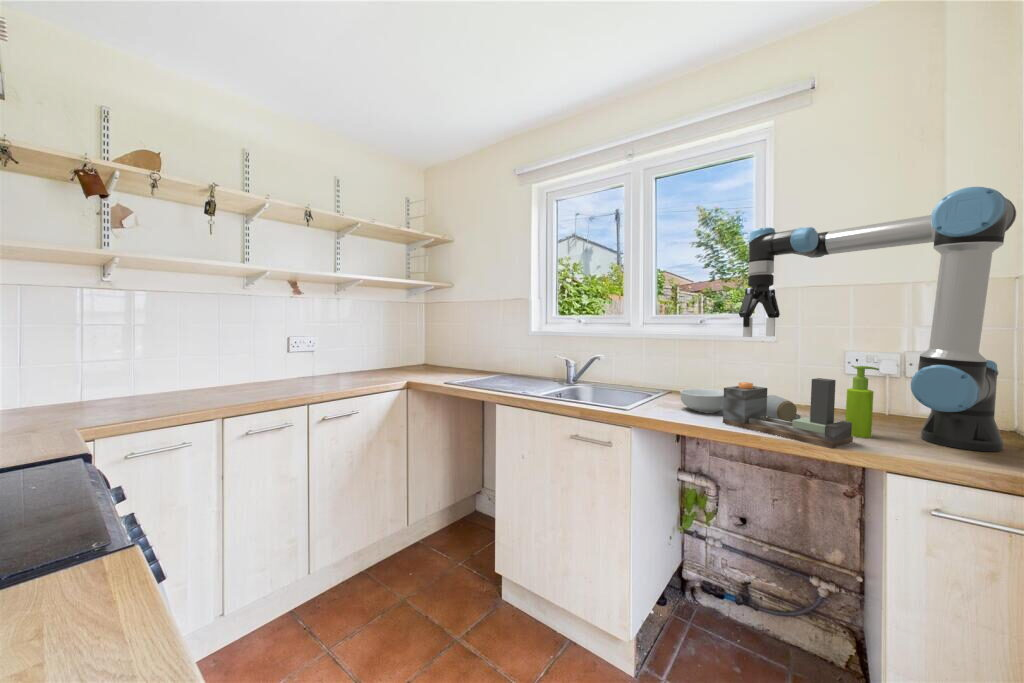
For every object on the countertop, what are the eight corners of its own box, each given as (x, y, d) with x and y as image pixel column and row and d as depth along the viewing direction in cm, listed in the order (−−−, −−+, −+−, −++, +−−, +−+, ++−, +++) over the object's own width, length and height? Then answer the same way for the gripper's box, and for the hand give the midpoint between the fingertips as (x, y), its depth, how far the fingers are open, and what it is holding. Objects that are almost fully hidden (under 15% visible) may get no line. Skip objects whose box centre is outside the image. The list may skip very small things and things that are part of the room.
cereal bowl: (696, 404, 165) (697, 386, 164) (739, 412, 151) (740, 392, 151) (670, 409, 155) (670, 390, 155) (713, 418, 141) (714, 397, 141)
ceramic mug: (777, 422, 136) (779, 399, 135) (759, 416, 144) (761, 394, 143) (807, 422, 137) (808, 399, 136) (788, 416, 145) (789, 394, 145)
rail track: (852, 441, 114) (854, 400, 114) (831, 448, 108) (833, 404, 108) (744, 419, 140) (745, 385, 140) (722, 423, 134) (723, 387, 134)
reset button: (755, 392, 133) (755, 383, 133) (748, 394, 131) (748, 384, 131) (743, 391, 136) (743, 381, 136) (735, 392, 134) (736, 382, 134)
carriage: (838, 430, 115) (841, 379, 115) (824, 434, 111) (827, 381, 111) (806, 423, 122) (808, 376, 121) (792, 427, 118) (794, 377, 117)
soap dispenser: (879, 439, 117) (883, 368, 116) (849, 436, 119) (853, 366, 118) (870, 433, 123) (873, 365, 122) (841, 431, 125) (844, 364, 124)
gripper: (770, 277, 153) (768, 335, 154) (728, 273, 141) (726, 336, 142) (792, 275, 146) (790, 336, 147) (750, 271, 134) (748, 337, 135)
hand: (759, 336), depth 144 cm, fingers open, 13 cm apart
